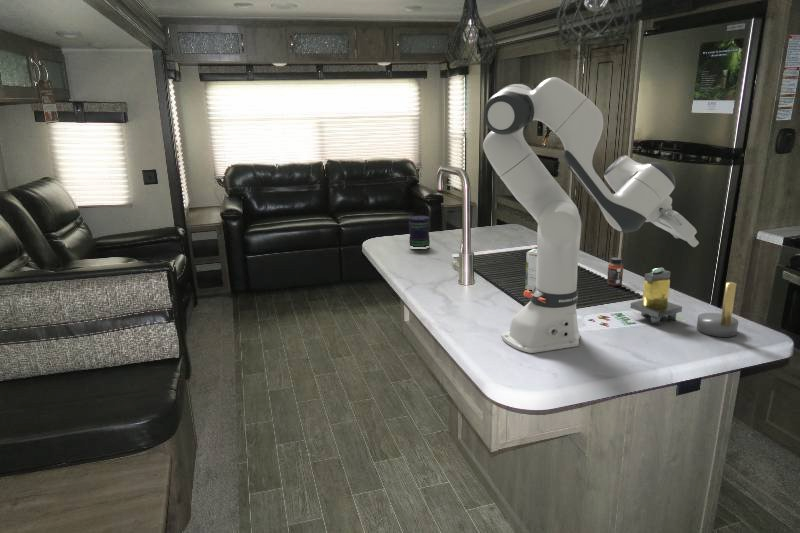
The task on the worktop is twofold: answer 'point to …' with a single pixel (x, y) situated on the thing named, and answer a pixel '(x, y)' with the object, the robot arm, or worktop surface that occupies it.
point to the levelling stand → (657, 297)
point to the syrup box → (531, 269)
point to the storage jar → (419, 231)
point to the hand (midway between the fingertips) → (687, 240)
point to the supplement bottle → (615, 272)
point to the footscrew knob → (720, 317)
